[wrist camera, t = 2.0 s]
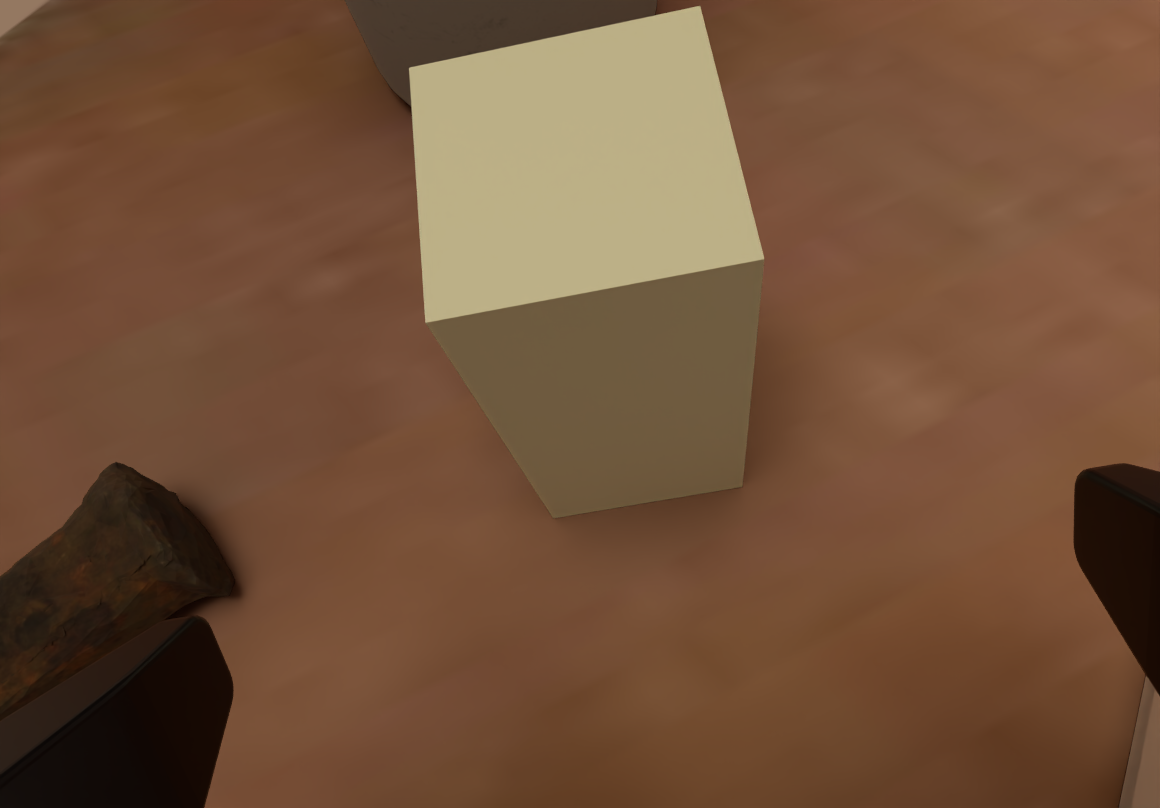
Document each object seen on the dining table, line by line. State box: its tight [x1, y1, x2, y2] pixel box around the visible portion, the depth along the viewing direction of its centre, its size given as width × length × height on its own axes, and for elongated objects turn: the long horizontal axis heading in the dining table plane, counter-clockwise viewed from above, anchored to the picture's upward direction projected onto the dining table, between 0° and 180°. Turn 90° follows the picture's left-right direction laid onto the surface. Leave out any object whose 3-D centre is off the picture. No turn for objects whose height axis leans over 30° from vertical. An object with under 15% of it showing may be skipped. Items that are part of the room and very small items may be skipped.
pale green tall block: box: [409, 6, 764, 518], centre depth 19 cm, size 5×5×11 cm
